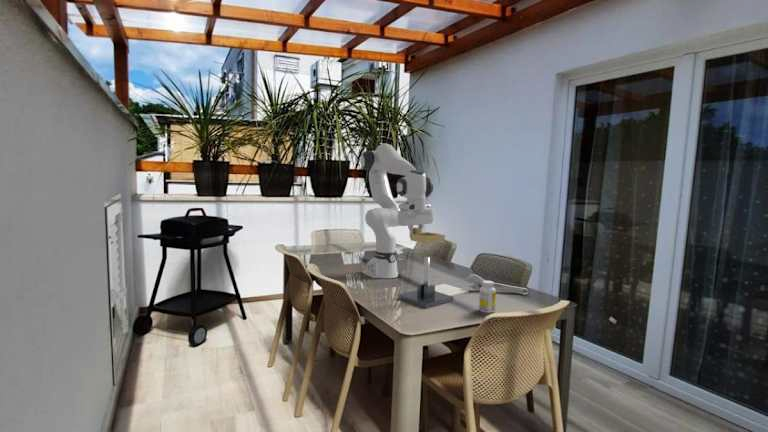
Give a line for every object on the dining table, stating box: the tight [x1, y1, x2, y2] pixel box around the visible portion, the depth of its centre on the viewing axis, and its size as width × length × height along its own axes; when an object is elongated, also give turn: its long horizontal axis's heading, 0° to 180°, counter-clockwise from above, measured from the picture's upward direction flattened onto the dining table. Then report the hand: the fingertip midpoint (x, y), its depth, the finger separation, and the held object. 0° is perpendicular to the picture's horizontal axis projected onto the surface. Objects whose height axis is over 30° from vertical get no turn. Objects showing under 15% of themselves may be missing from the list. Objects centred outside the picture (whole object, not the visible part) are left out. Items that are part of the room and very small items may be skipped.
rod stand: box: [398, 256, 455, 309], centre depth 194 cm, size 18×18×20 cm
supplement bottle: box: [478, 280, 497, 314], centre depth 180 cm, size 7×7×13 cm
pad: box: [434, 283, 469, 297], centre depth 209 cm, size 16×16×1 cm
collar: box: [409, 226, 446, 245], centre depth 194 cm, size 16×11×5 cm
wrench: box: [467, 273, 529, 295], centre depth 210 cm, size 8×2×30 cm
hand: (415, 234), depth 198 cm, fingers closed on collar, 3 cm apart
